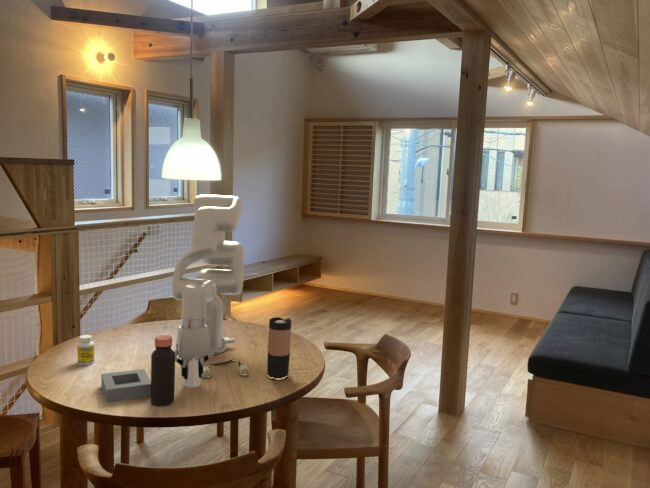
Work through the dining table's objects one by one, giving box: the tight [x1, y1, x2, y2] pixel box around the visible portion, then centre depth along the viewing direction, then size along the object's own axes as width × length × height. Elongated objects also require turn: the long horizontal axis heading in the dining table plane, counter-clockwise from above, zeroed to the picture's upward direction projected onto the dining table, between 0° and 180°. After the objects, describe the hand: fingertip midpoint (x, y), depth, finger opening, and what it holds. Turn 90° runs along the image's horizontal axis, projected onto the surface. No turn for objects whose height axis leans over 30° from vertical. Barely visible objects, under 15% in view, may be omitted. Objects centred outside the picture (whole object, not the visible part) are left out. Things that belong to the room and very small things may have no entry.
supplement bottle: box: [77, 334, 95, 366], centre depth 191 cm, size 5×5×10 cm
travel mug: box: [266, 316, 292, 378], centre depth 189 cm, size 8×8×20 cm
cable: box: [201, 359, 250, 379], centre depth 193 cm, size 16×16×4 cm
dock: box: [100, 368, 151, 404], centre depth 171 cm, size 13×13×4 cm
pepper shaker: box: [183, 357, 201, 389], centre depth 178 cm, size 5×5×11 cm
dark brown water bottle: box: [150, 334, 176, 407], centre depth 164 cm, size 7×7×20 cm
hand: (192, 376), depth 179 cm, fingers closed on pepper shaker, 3 cm apart
